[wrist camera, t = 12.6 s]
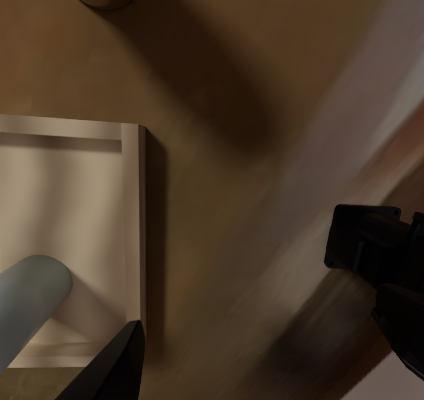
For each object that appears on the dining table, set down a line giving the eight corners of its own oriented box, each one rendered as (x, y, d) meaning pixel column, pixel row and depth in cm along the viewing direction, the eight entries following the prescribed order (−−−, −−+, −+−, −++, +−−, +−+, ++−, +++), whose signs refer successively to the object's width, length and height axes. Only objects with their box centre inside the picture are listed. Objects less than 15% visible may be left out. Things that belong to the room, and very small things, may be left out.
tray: (145, 126, 19) (138, 124, 16) (146, 343, 24) (140, 365, 22) (-67, 111, 17) (-109, 106, 15) (-17, 344, 23) (-42, 368, 20)
